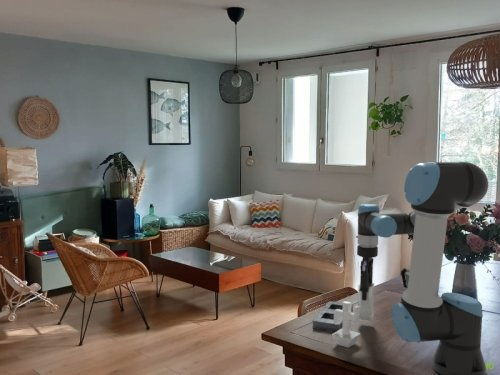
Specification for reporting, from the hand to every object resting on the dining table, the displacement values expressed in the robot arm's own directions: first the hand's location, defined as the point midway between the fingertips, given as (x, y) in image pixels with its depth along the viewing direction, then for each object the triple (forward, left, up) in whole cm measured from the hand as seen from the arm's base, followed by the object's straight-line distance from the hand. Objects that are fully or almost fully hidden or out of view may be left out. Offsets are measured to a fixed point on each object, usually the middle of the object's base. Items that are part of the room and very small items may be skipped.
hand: (365, 305), depth 188 cm
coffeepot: (+27, -15, -8) cm, 32 cm away
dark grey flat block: (+1, +12, -8) cm, 15 cm away
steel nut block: (0, 0, -5) cm, 5 cm away
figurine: (-20, +3, -8) cm, 22 cm away
